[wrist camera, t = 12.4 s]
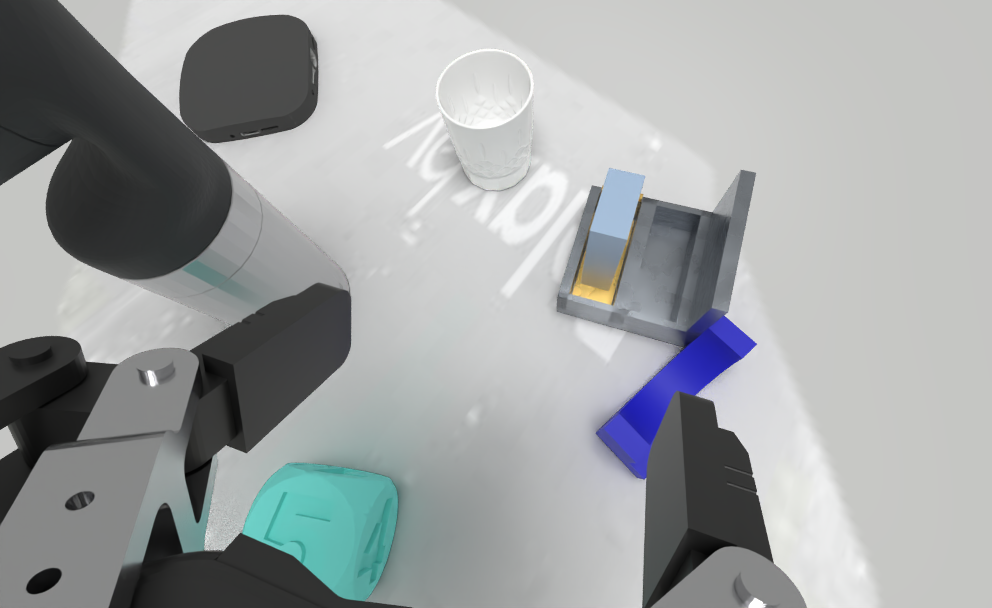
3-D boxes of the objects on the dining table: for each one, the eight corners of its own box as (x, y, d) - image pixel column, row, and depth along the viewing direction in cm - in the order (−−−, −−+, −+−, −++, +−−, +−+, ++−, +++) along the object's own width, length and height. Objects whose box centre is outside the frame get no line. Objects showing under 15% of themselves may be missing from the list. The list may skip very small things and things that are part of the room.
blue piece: (636, 477, 37) (653, 481, 31) (595, 433, 38) (603, 428, 32) (741, 374, 38) (774, 359, 32) (697, 335, 40) (722, 314, 34)
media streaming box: (202, 50, 56) (183, 28, 54) (319, 26, 56) (307, 3, 53) (192, 151, 52) (171, 133, 49) (320, 127, 51) (306, 108, 48)
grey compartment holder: (556, 311, 41) (559, 267, 32) (588, 208, 44) (599, 140, 35) (684, 347, 39) (728, 312, 30) (709, 237, 42) (756, 173, 32)
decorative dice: (406, 478, 38) (371, 483, 31) (383, 588, 36) (340, 623, 28) (315, 461, 39) (260, 462, 32) (288, 567, 37) (221, 595, 30)
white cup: (444, 154, 48) (418, 79, 38) (509, 116, 48) (500, 33, 39) (483, 211, 45) (466, 145, 36) (552, 170, 46) (553, 95, 36)
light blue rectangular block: (580, 283, 41) (589, 230, 31) (595, 233, 42) (609, 167, 32) (608, 291, 40) (627, 239, 31) (623, 240, 41) (645, 175, 32)
